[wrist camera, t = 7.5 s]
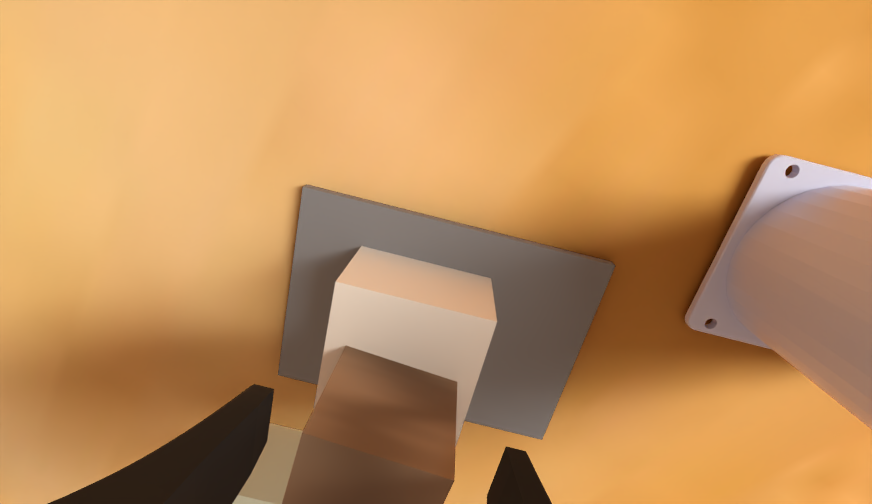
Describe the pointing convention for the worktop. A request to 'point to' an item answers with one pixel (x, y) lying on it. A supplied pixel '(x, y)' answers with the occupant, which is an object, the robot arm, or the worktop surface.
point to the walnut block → (377, 436)
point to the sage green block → (272, 468)
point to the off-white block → (412, 319)
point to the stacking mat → (466, 251)
